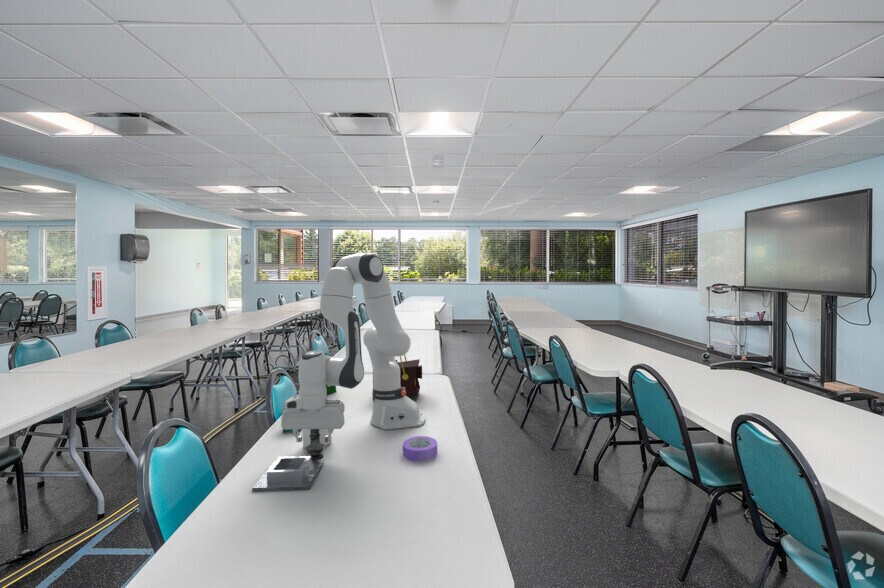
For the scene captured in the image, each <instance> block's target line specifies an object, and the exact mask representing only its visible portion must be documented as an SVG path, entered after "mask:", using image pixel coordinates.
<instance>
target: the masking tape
mask: <svg viewBox="0 0 884 588" xmlns="http://www.w3.org/2000/svg"><path fill="white" fill-rule="evenodd" d="M402 455H403V457H404V458H405V459H407V460H410V461H413V462H423V461H424V462H425V461H429V460H432V459H434V458H435V457H436V456H438V441H437V440H436V439H435V438H433V437H430V436H427V435H426V436H425V435H418V436H412V437H408V438H406V439H405V440H404V441H403V443H402Z"/></svg>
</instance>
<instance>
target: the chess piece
mask: <svg viewBox="0 0 884 588" xmlns="http://www.w3.org/2000/svg"><path fill="white" fill-rule="evenodd" d="M309 437H310V445H308V446H307V447H305V449H306V451H307V454H308V456H311V459H312V461H321V460H322V459H323V458H324V457H325V456H324V454H323V451H324V448H325V447H324V444H321V443H320V434H319V429H310V436H309Z"/></svg>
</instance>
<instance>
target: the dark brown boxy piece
mask: <svg viewBox="0 0 884 588" xmlns="http://www.w3.org/2000/svg"><path fill="white" fill-rule="evenodd" d="M403 357H404V360H405V361H403V360H402V356H399V359H400V361H398V360H397V359H395V360H396V362H397V364H398V365H399V367H400V386H401V387H403V388H404V387H405V390H406V395H405V396H407V397H419V393H420V390H421V389H420V388H421V385H420V381H419V379H421V380H422V379H423V365H420V359H412V360H408V359H407V357H406V354H405V355H403ZM373 387H374V384H373V383H372V388H373Z"/></svg>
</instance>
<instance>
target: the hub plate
mask: <svg viewBox="0 0 884 588" xmlns="http://www.w3.org/2000/svg"><path fill="white" fill-rule="evenodd" d="M324 464H325V462H324V460H316V461H312V459H311V456H309V455H302V456H301V455H299V456H278V457H277V459H276V460H275V461H273V462H272V463H271V465H270V466H269V467H268V468H267V469H266V471H265V472H264V473H263V474H262V475H261V476H260V477H259V479H258V480H257V481H256V483H255V484H254V485H253V486H252V488H251V490H252V492H275V491H276V492H277V491H278V492H279V491H283V492H284V491H307V490H308V491H309V490H310V489H311V488H312V485H313V484H314V482H315V480H316V479H317V477H318V476H319V473H320V471H321V470H322V468H323V466H324Z"/></svg>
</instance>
